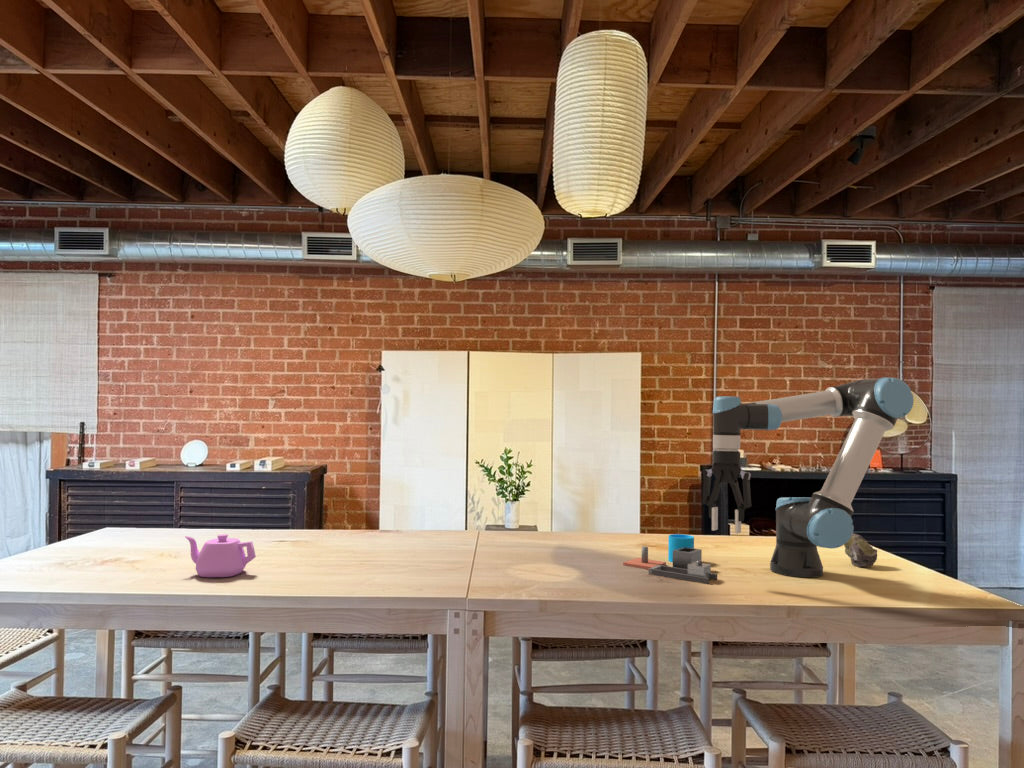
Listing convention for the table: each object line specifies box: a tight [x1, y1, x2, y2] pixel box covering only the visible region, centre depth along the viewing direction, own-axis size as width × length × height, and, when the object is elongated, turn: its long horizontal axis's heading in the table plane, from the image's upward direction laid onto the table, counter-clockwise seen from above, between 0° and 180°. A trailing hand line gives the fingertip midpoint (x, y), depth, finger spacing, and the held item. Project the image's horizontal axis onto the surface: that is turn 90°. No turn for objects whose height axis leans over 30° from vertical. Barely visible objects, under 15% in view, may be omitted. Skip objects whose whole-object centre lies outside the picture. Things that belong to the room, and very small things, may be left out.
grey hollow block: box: [672, 547, 703, 569], centre depth 212 cm, size 6×8×6 cm
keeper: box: [622, 546, 667, 570], centre depth 218 cm, size 10×10×6 cm
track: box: [648, 565, 718, 585], centre depth 202 cm, size 18×8×2 cm, turn 52°
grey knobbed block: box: [688, 560, 712, 580], centre depth 199 cm, size 5×5×5 cm
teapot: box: [184, 533, 257, 578], centre depth 195 cm, size 13×20×11 cm
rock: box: [843, 532, 878, 568], centre depth 222 cm, size 11×10×10 cm
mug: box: [667, 533, 695, 563], centre depth 227 cm, size 12×8×8 cm
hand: (726, 531), depth 195 cm, fingers open, 6 cm apart
